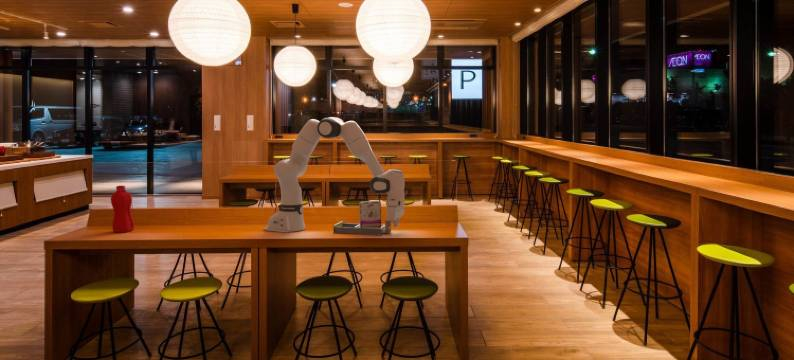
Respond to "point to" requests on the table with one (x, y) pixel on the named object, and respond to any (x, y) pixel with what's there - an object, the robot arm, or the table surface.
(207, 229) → the table surface
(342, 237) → the table surface
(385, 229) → the crate carriage
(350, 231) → the bay
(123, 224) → the water bottle
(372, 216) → the candy bar box
